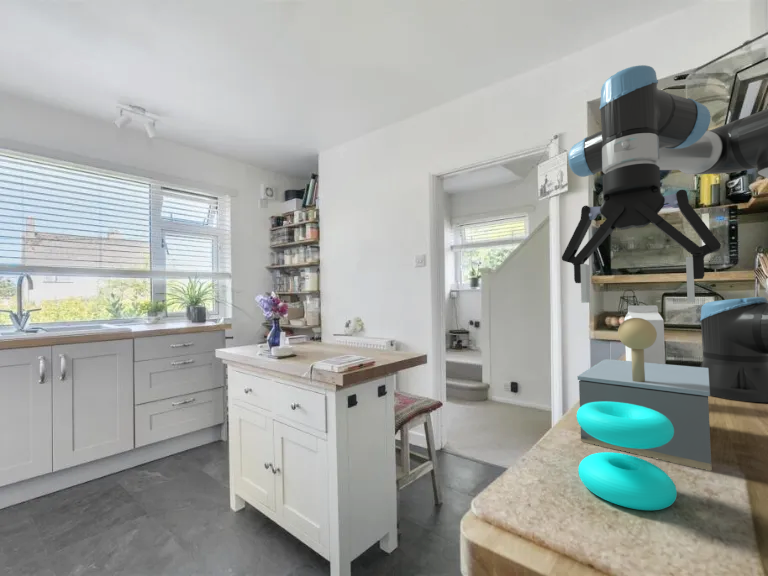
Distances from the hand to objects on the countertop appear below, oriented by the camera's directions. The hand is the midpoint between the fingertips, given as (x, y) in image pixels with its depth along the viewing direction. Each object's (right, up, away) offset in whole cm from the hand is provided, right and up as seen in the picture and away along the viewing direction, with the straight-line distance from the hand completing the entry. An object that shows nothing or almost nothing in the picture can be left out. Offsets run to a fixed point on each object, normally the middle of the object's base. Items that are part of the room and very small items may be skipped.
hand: (634, 302), depth 56 cm
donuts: (-10, -23, -12) cm, 28 cm away
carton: (+7, -23, +6) cm, 25 cm away
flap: (+6, -13, +6) cm, 16 cm away
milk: (+21, -24, +26) cm, 42 cm away
